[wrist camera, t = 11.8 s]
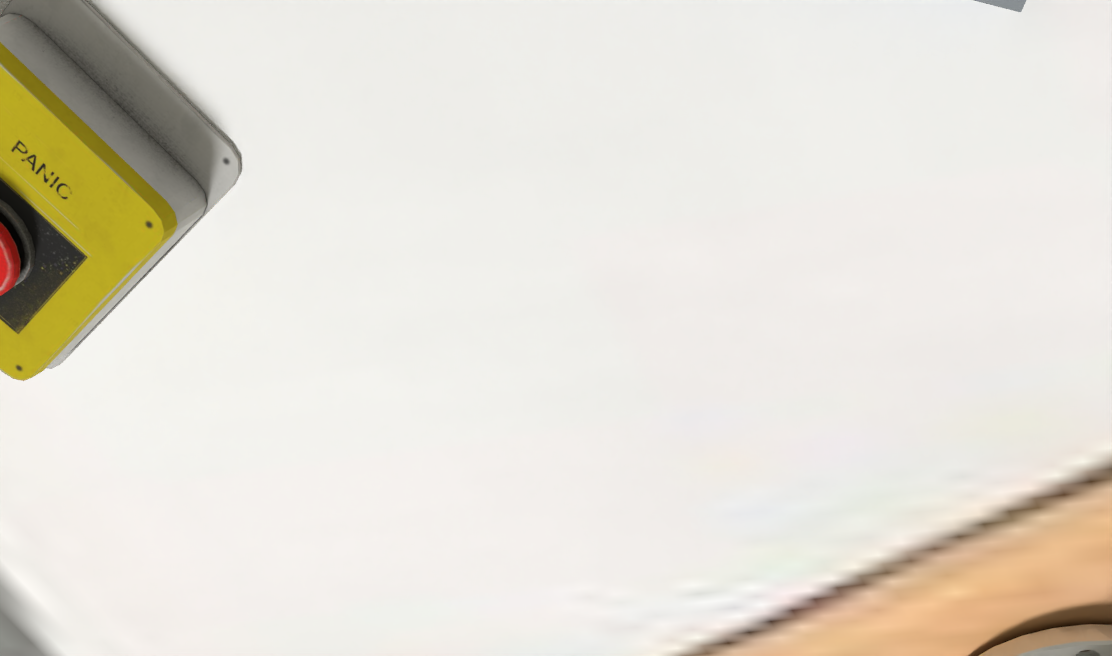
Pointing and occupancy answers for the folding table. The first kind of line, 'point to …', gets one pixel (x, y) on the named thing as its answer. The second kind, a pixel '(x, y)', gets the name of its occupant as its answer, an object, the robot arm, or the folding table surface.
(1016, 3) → the shaft plate
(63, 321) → the emergency button
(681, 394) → the folding table surface
